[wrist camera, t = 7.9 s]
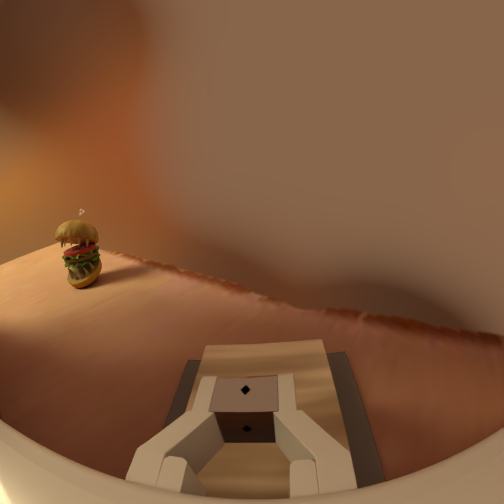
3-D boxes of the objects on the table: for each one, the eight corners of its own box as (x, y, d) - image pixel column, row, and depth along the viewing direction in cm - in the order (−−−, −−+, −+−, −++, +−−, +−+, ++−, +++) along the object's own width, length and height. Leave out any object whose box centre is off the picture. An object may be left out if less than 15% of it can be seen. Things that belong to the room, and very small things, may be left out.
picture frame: (360, 503, 6) (321, 338, 17) (158, 502, 7) (206, 344, 18) (350, 514, 7) (320, 361, 18) (174, 514, 7) (211, 366, 19)
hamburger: (60, 290, 36) (42, 218, 32) (86, 273, 42) (71, 209, 39) (90, 292, 34) (70, 212, 31) (116, 273, 41) (101, 202, 37)
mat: (398, 555, 4) (401, 554, 3) (127, 553, 4) (123, 552, 4) (344, 355, 19) (344, 351, 19) (189, 363, 20) (188, 359, 20)
